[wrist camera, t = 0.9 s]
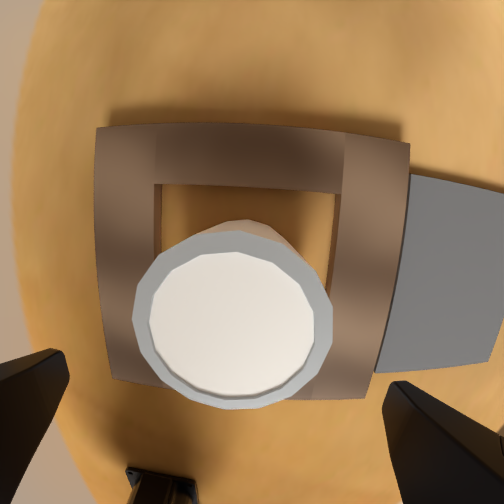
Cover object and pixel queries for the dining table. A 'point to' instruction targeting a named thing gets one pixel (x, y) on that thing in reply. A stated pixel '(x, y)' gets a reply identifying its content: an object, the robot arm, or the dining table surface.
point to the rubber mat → (446, 278)
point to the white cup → (233, 317)
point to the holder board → (261, 176)
